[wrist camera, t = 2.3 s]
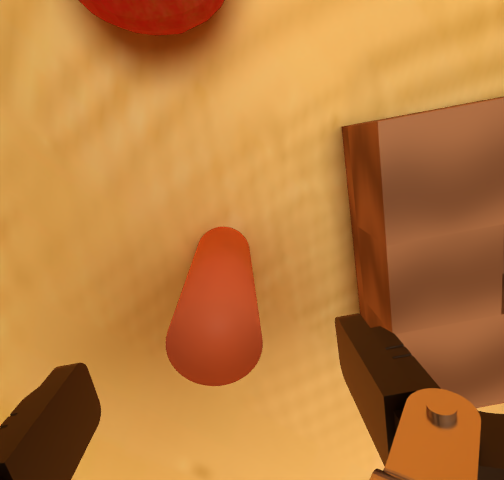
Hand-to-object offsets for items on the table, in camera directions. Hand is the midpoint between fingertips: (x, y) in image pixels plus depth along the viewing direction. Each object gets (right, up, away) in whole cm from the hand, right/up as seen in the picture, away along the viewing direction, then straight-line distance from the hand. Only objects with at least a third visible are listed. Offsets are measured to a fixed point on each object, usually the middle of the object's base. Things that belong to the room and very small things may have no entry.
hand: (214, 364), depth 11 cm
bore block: (+15, +4, +11) cm, 19 cm away
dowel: (-1, +3, +10) cm, 11 cm away
